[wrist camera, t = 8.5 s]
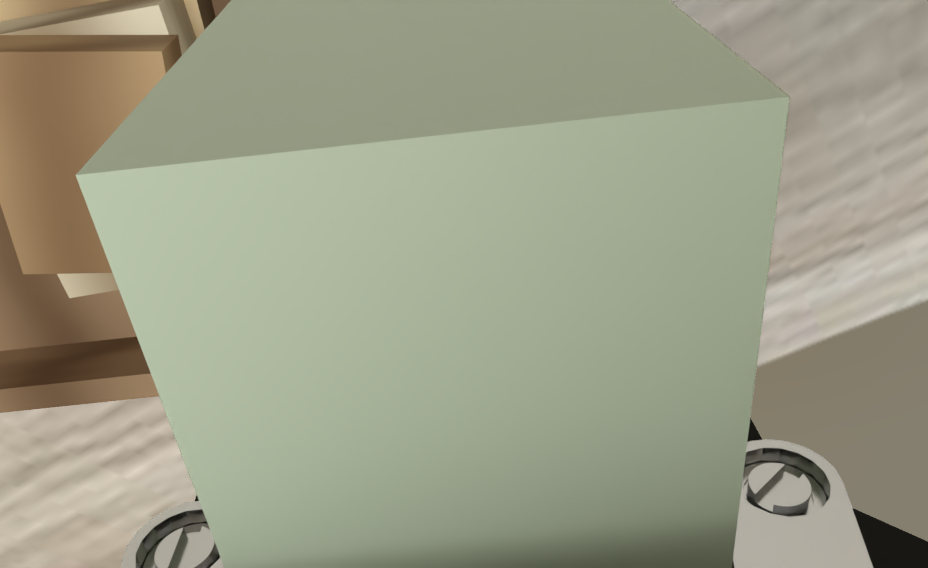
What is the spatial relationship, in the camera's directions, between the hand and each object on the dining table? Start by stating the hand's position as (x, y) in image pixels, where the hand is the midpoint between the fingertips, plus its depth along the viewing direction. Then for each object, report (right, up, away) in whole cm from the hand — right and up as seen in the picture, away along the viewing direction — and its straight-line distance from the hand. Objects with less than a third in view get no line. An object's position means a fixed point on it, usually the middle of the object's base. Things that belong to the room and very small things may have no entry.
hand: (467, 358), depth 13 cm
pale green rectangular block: (0, +2, +4) cm, 4 cm away
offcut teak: (-10, +5, +9) cm, 14 cm away
